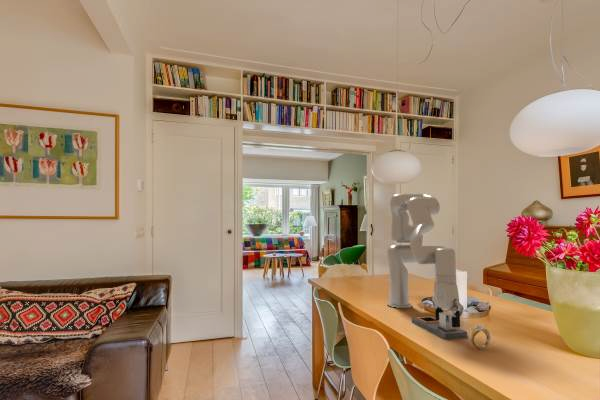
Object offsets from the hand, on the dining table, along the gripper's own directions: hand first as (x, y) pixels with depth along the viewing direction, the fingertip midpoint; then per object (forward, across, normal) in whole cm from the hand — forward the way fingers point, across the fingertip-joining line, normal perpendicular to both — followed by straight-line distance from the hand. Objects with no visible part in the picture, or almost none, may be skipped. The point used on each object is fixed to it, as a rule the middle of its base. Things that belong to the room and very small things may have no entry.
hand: (447, 323), depth 132 cm
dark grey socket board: (+4, -6, 0) cm, 8 cm away
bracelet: (+5, +16, +1) cm, 16 cm away
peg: (+4, 0, 0) cm, 4 cm away
